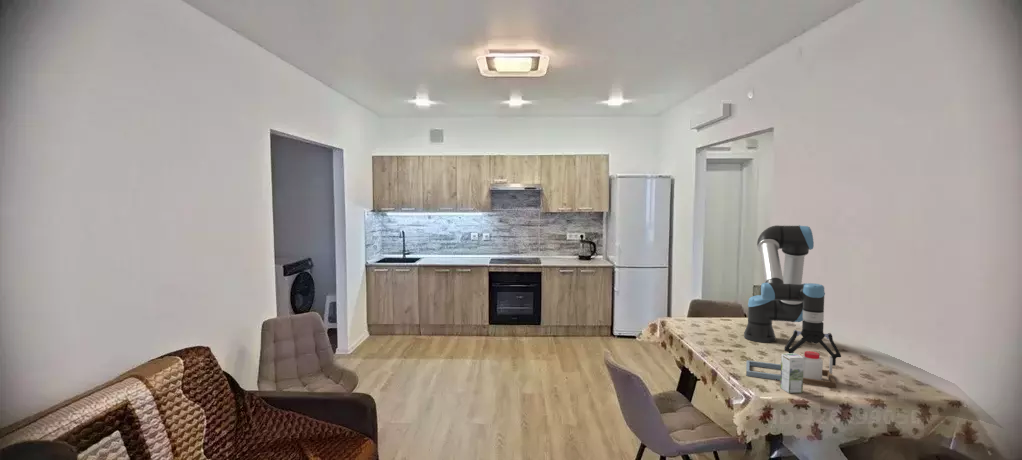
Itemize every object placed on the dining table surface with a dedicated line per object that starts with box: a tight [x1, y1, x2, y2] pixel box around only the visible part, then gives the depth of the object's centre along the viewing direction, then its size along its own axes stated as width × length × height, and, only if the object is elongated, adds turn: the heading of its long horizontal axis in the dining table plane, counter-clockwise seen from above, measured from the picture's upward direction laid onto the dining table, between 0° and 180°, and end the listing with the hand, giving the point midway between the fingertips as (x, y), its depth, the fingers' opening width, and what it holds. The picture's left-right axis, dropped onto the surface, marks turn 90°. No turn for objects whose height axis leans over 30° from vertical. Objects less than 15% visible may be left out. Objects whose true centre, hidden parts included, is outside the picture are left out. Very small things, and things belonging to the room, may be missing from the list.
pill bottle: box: [801, 350, 824, 380], centre depth 203 cm, size 8×8×11 cm
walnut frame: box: [803, 369, 837, 389], centre depth 204 cm, size 15×15×2 cm
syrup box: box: [779, 352, 804, 394], centre depth 191 cm, size 6×6×14 cm
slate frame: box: [745, 359, 781, 381], centre depth 211 cm, size 15×15×2 cm
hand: (811, 370), depth 204 cm, fingers open, 13 cm apart
